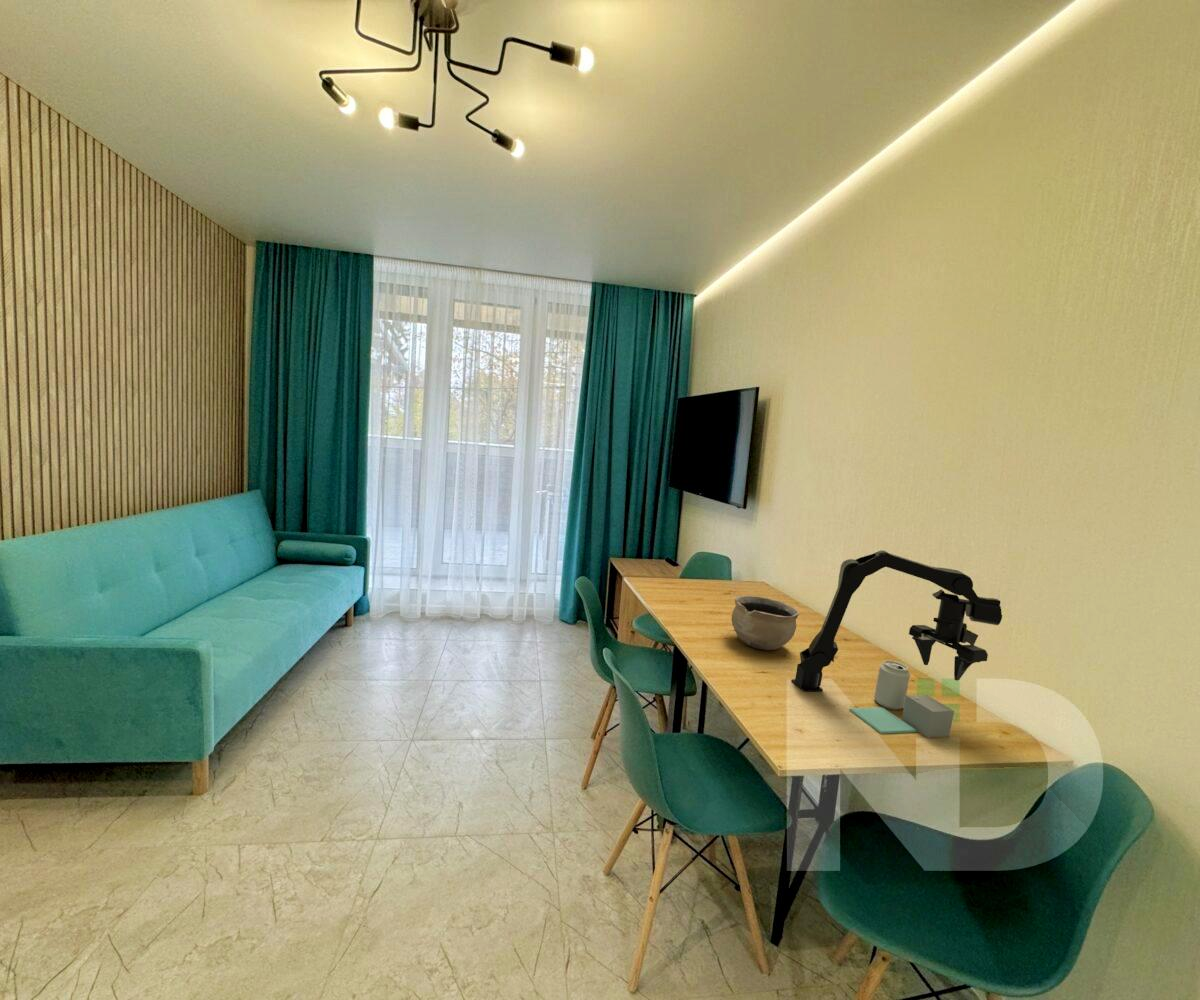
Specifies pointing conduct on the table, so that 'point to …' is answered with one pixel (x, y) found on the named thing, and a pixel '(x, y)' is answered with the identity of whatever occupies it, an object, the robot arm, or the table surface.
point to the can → (892, 685)
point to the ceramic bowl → (763, 622)
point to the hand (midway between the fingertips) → (940, 672)
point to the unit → (927, 716)
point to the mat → (882, 720)
